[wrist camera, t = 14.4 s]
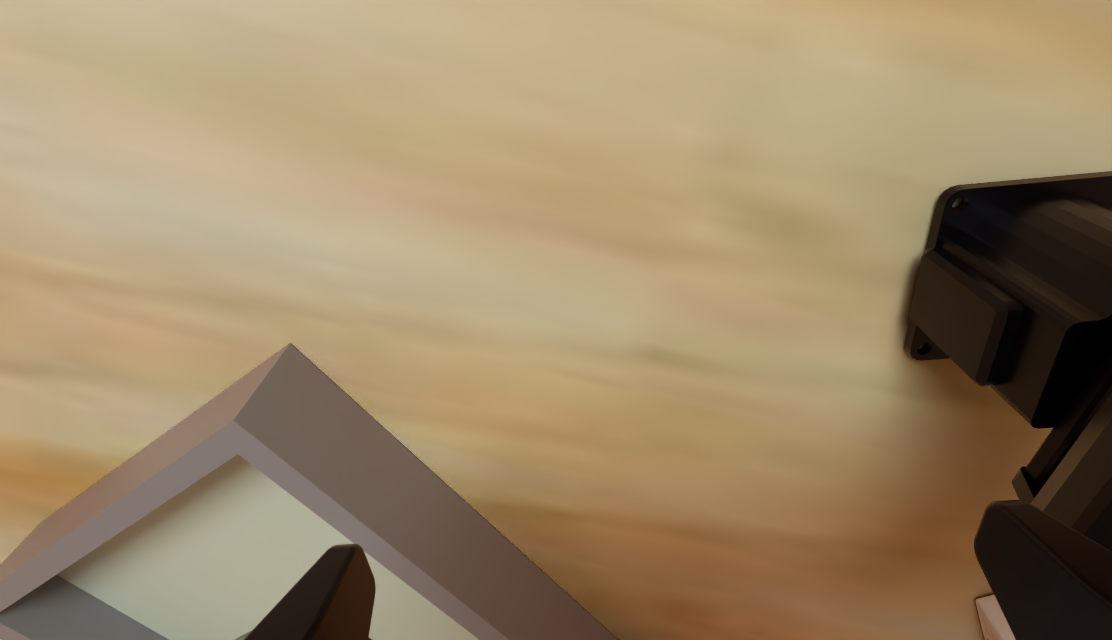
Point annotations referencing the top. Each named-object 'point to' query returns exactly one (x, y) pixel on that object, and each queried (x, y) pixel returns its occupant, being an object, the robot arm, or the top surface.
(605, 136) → the top surface
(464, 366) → the top surface
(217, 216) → the top surface
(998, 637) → the small box
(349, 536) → the tray
